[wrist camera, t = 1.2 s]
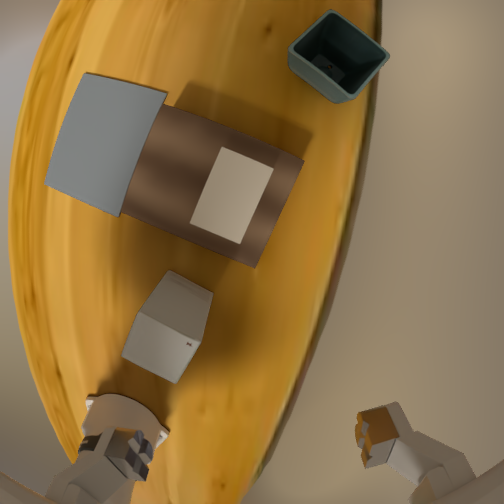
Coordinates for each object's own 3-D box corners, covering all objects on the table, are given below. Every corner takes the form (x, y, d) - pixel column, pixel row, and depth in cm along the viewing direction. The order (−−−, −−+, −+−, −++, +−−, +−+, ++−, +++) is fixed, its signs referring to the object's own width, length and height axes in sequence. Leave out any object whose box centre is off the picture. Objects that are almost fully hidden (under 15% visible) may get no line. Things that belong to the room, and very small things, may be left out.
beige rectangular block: (240, 240, 33) (239, 244, 31) (192, 220, 32) (189, 223, 30) (272, 169, 31) (273, 168, 29) (223, 148, 30) (221, 146, 28)
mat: (119, 217, 36) (118, 217, 36) (45, 183, 34) (44, 184, 34) (167, 94, 32) (166, 93, 31) (84, 73, 30) (84, 73, 29)
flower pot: (276, 75, 31) (285, 48, 23) (314, 37, 30) (331, 7, 21) (328, 116, 33) (353, 101, 24) (363, 76, 31) (392, 55, 23)
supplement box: (168, 267, 38) (138, 308, 26) (215, 292, 39) (203, 343, 27) (149, 307, 40) (118, 356, 28) (192, 330, 41) (176, 386, 29)
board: (253, 258, 38) (254, 268, 34) (132, 207, 36) (120, 211, 32) (298, 162, 35) (304, 160, 31) (170, 110, 32) (162, 103, 28)
